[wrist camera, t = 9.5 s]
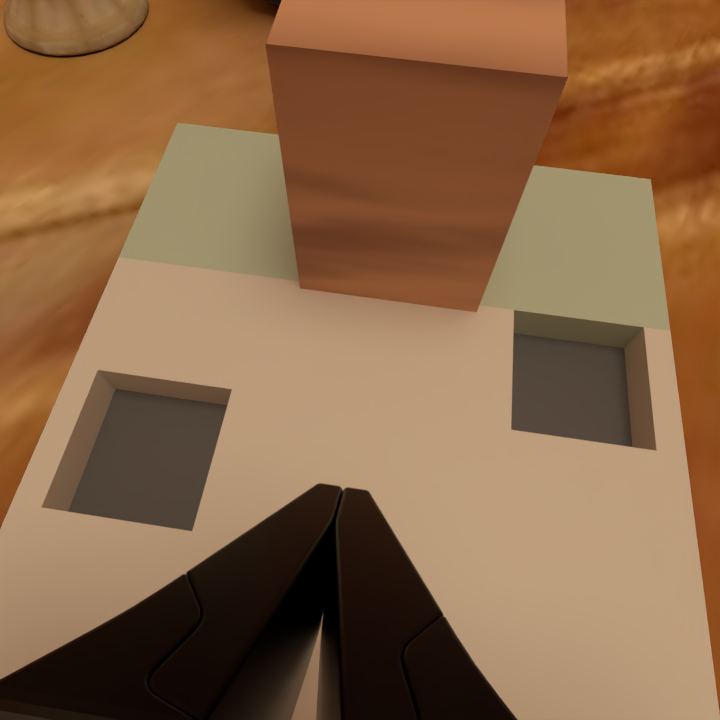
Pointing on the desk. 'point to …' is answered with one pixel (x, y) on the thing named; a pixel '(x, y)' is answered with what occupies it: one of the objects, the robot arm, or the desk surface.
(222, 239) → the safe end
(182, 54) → the desk surface
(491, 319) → the plate
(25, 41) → the hand bell
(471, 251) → the terracotta block
